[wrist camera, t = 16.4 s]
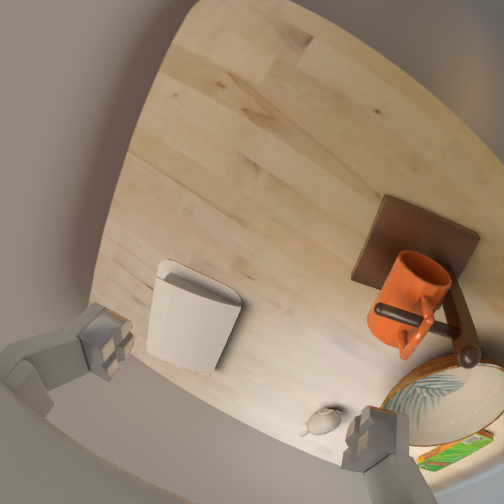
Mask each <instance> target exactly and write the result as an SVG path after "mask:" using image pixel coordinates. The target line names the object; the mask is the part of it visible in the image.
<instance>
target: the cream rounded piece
mask: <svg viewBox="0 0 504 504" xmlns="http://www.w3.org/2000/svg"><path fill="white" fill-rule="evenodd" d="M340 415H342V413H341V412H340V411H338V410H333V409H328V408H326V409H322V410H320V411H319V412H318V414H316V415H314V416H312V417H311V418H310V419H309V421H308V423H307V429H308V430H306V431H304V432H302V433H300V434H299V435H300V436H305V435H306V434H308V433H309V432H310V433H311V434H313V435H322V434H326V433H329V432H331V431H333V430H335V429H336V428H337V427H338V426H339V424H340V422H341V418H340Z"/></svg>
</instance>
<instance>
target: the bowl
mask: <svg viewBox="0 0 504 504" xmlns="http://www.w3.org/2000/svg"><path fill="white" fill-rule="evenodd" d="M380 408H382V409H387V410H391V411H394V412H399V413H404V414H407V415H408V417H409V446H417V447H427V446H438V445H444V444H448V443H452V442H456V441H459V440H462V439H464V438H467V437H469V436H471V435H473V434H475V433H477V432H479V431H481V430H483V429H484V428H486V427H487V426H489V425H490V424H492V423H493V422H494V421H495V420H496V419H498V418H499V417H500V416H501V415H502V414H503V412H504V367H502V366H501V365H499V364H498V363H496V362H495V361H493V360H492V359H489V358H486V357H483V356H481V359H480V361H479V363H478V364H477V365H476V366H475V367H474V368H472V369H465V368H463V367H461V365H460V364H459V362H458V359H456V357H455V354H450V355H445V356H441V357H438V358H435V359H432V360H430V361H428V362H426V363H423V364H422V365H420V366H419V367H417V368H415V369H414V370H412V371H411V372H410V373H409V374H407V375H406V376H405V377H404V378H402V379H401V380H400V381H399V382H398V384H397V385H396V386H395V387H394V388H393V389H392V390H391V391H390V393H389V394H388V396H387V397H386V399H385V400H384V402H383V404H382V405H381V407H380Z"/></svg>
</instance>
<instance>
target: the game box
mask: <svg viewBox="0 0 504 504" xmlns="http://www.w3.org/2000/svg"><path fill="white" fill-rule="evenodd" d="M492 441H494V440H493V434H491V433H489V432H486V431H484V430H481V431H479V432H477V433H475V434H473V435H471V436H469V437H467V438H464V439H462V440H459V441H456V442H452V443H448V444H444V445H441V446H439V447H438V448H436V449H434V450H432V451H430V452H428V453H426V454H424V455H422V456H420V457H418V464H417V466H418V468H421V469H425V470H429V471H433V472H434V471H438V470H440V469H442V468H444V467H446V466H448V465H451V464H453V463H455V462H456V461H458V460H460V459H462V458H464V457H466V456H468V455H470V454H472V453H473V452H475V451H477V450H479V449H480V448H482V447H484V446H486V445H487V444H489V443H491V442H492ZM425 467H428V468H425ZM429 468H430V469H429Z"/></svg>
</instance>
